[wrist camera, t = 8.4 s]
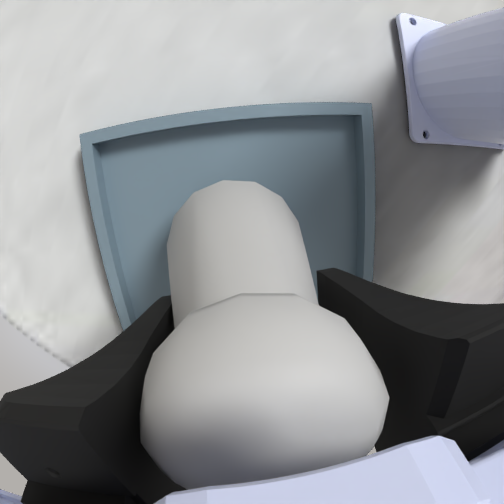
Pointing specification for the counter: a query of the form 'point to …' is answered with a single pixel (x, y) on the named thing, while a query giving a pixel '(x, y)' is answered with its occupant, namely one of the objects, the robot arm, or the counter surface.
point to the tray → (235, 169)
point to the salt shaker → (253, 352)
